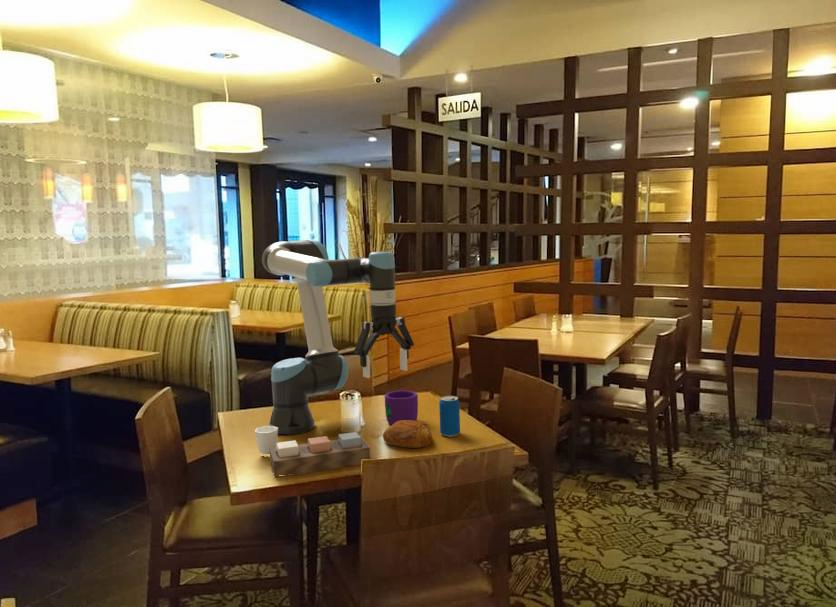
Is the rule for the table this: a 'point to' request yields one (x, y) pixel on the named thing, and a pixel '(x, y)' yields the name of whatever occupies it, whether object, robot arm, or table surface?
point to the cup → (266, 438)
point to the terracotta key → (318, 444)
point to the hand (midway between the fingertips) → (385, 373)
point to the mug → (401, 406)
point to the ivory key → (287, 449)
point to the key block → (318, 458)
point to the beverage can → (449, 416)
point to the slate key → (349, 440)
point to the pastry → (408, 434)
